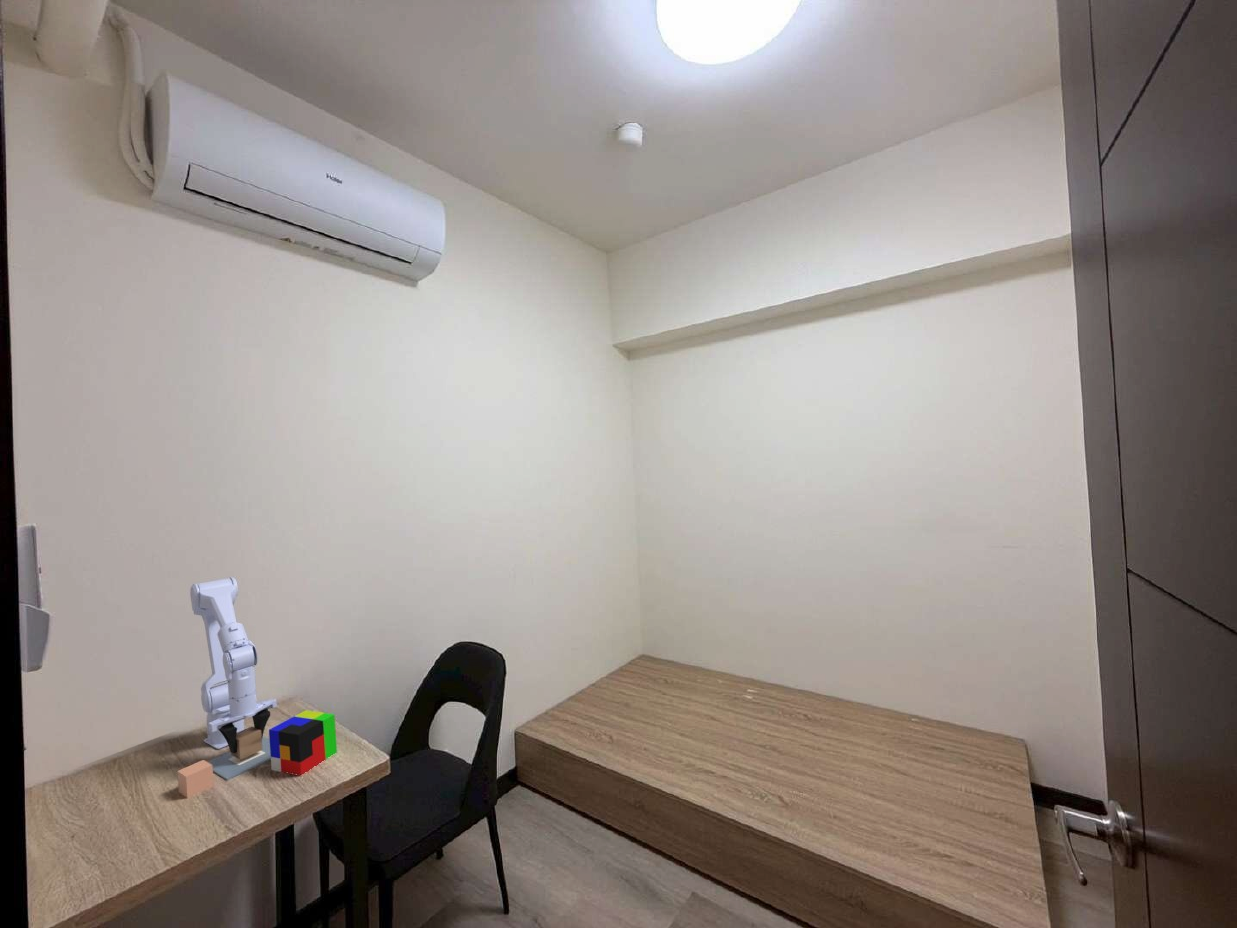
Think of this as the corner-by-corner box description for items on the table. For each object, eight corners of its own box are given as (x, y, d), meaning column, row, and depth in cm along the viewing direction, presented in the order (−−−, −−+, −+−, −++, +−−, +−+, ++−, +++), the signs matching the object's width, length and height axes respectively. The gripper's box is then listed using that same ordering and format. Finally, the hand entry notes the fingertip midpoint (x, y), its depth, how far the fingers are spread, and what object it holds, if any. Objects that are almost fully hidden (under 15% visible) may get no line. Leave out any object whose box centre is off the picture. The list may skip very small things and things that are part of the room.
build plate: (202, 765, 131) (202, 763, 131) (264, 738, 143) (264, 736, 143) (227, 780, 123) (227, 778, 123) (290, 750, 135) (289, 748, 135)
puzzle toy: (271, 770, 127) (268, 729, 127) (308, 747, 136) (305, 710, 136) (301, 776, 123) (298, 734, 123) (337, 752, 133) (334, 714, 133)
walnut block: (231, 754, 132) (229, 735, 132) (253, 745, 136) (252, 726, 136) (240, 759, 130) (239, 739, 130) (262, 749, 134) (261, 730, 134)
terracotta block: (178, 792, 120) (177, 770, 120) (204, 780, 124) (203, 759, 124) (187, 798, 117) (186, 776, 117) (213, 786, 122) (212, 764, 122)
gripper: (215, 709, 125) (219, 765, 125) (280, 685, 137) (284, 736, 137) (203, 703, 128) (207, 757, 129) (268, 680, 141) (271, 730, 141)
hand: (246, 746), depth 133 cm, fingers closed on walnut block, 5 cm apart
